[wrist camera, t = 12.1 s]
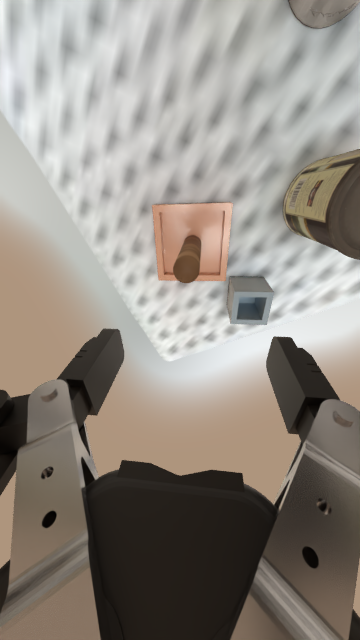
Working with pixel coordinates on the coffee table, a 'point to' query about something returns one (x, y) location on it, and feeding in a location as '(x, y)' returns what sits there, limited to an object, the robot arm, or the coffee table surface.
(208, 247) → the tray
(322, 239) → the coffee can
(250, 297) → the holder
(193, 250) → the dowel
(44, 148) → the coffee table surface
